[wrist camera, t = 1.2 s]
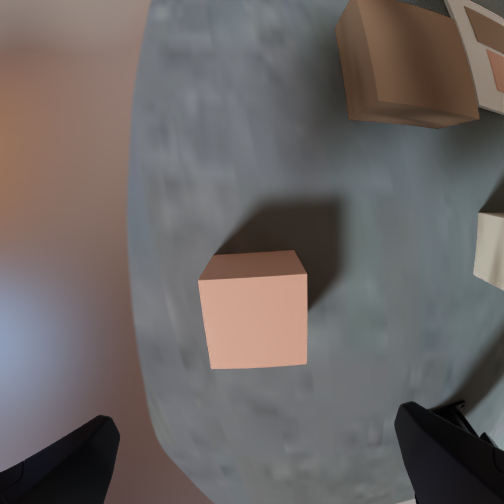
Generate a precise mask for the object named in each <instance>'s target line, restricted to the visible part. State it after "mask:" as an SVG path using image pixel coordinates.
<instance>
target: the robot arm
mask: <svg viewBox="0 0 504 504" xmlns="http://www.w3.org/2000/svg"><path fill="white" fill-rule="evenodd" d="M465 406H466V402H465V401H464V400H463V401H460V402H458V403H455V404H453V405H450V406H447V407H444V408H442V409H439V410H436V411H433V412H431V411H429V410H427V409H425V408H424V407H422V406H420V405H419V404H417V403H415V402H413V401H410V402H407V403H403V404H401V405H400V406H399V409H398V413H397V416H396V419H395V423H394V426H395V431H396V434H397V438H398V442H399V445H400V449H401V453H402V457H403V461H404V465H405V467H406V470H407V473H408V475H409V478H410V481H411V483H412V486H413V489H414V491H415V499H416V504H504V451H503V450H501V449H499V448H498V446H497V445H496V444H495V442H494V441H493V440H492V439H491V438H490V437H489V436H488V435H487V434H486V433H485V432H484V433H483V434H482V435H481V437H479V436H478V435H477V433H476V432H475V431H474V429H473V428H472V426H471V425H470V424H469V422H468V421H467V420H466V418H465V417H464V416H463V414H462V413H463V410H464V408H465ZM119 441H120V434H119V431H118V429H117V427H116V425H115V423H114V422H113V419H112V418H111V417H109V416H104V415H98V416H96V417H95V418H93V419H92V420H90V421H89V422H87V423H85V424H84V425H82V426H81V427H79V428H77V429H76V430H74V431H73V432H71V433H69V434H68V435H66V436H65V437H63V438H61V439H60V440H58V441H56V442H55V443H53V444H51V445H50V446H48V447H46V448H45V449H43V450H41V451H39V452H38V453H36V454H34V455H32V456H31V457H29V458H27V459H25V461H22V462H20V463H18V464H17V465H14V466H13V467H11V468H9V469H7V470H5V471H2V472H0V504H103V503H104V500H105V497H106V494H107V490H108V487H109V484H110V481H111V478H112V474H113V470H114V464H115V460H116V455H117V450H118V446H119Z"/></svg>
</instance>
